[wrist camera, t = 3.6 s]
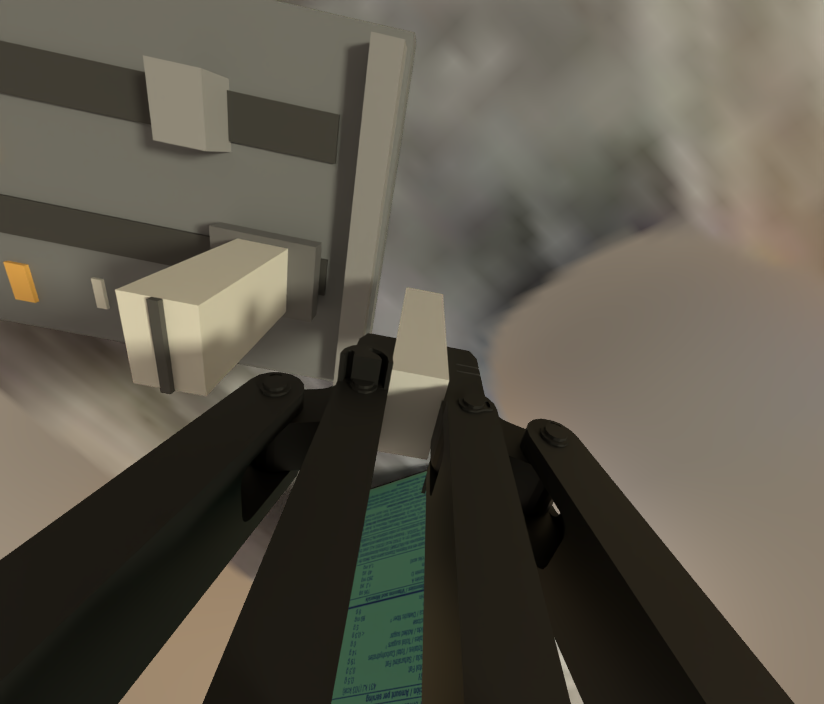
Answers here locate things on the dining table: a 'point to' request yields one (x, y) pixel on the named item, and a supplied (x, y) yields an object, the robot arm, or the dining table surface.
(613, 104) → the dining table surface
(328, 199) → the console
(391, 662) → the milk carton
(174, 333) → the fader
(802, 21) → the dining table surface
